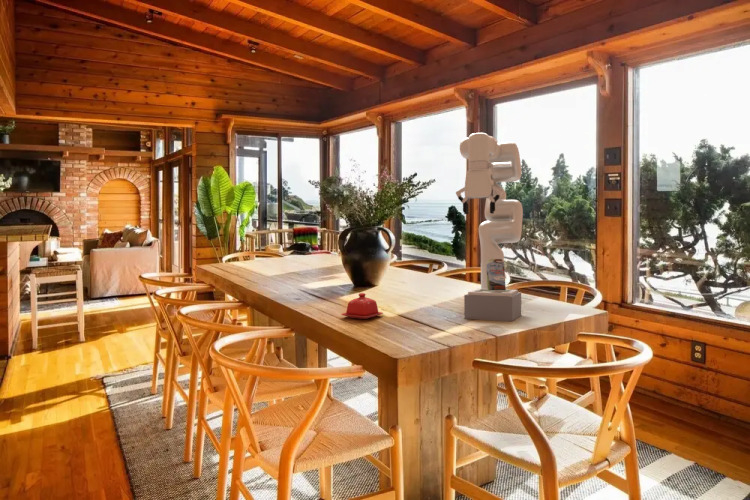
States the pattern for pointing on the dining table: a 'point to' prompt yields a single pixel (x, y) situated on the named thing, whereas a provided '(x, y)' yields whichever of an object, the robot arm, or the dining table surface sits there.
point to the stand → (492, 305)
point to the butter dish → (362, 308)
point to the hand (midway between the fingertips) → (478, 213)
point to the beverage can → (495, 275)
